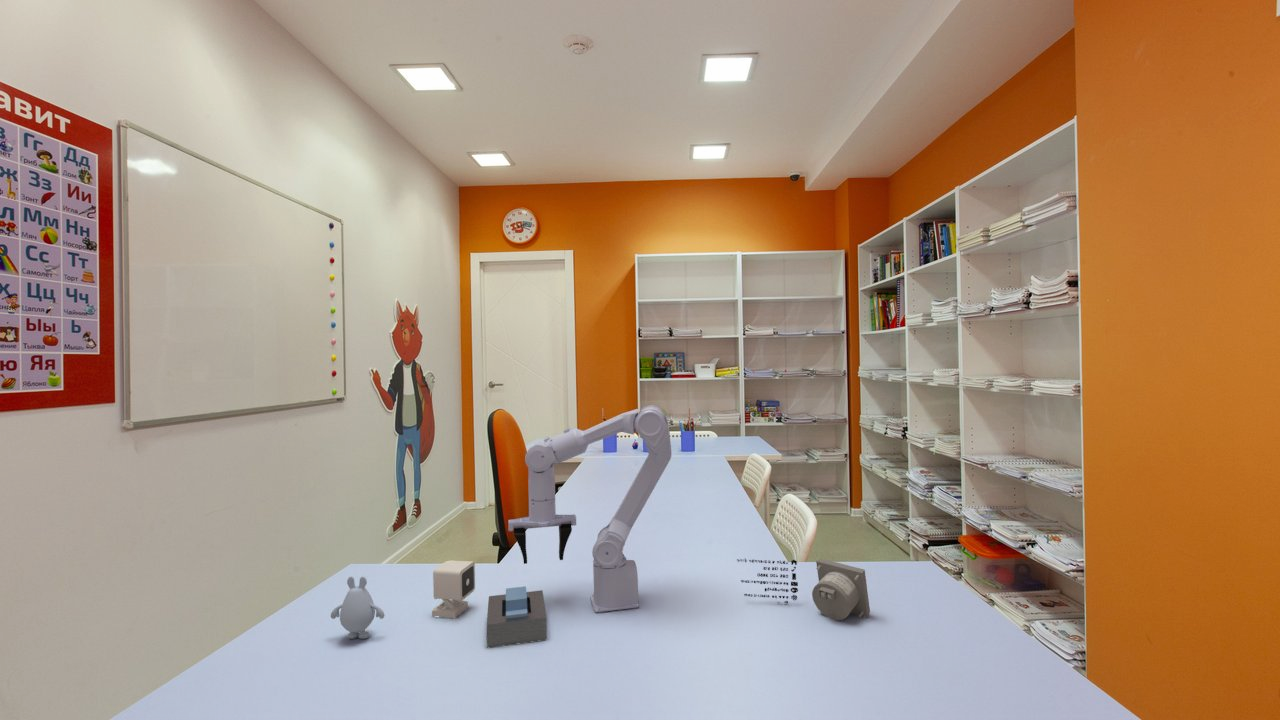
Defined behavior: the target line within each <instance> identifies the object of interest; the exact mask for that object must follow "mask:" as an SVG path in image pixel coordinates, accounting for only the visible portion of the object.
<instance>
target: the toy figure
mask: <svg viewBox="0 0 1280 720" xmlns="http://www.w3.org/2000/svg"><path fill="white" fill-rule="evenodd" d="M367 581H368V580H367V578H366V576H360V578H359V584H358V585H356V583H355V578H354V577H353V576H349V577H348V578H347V580H346V584H347V586H348V587H349V590H348V591H347V593H346V595H345V597H344V599H343V603H342V604H339V605H338V606H336V607H334V608H333V610H332V611H331V613H330V618H331V619H333V620H334V619H336V618H339V621H340V625H341V626H342V627H343V629H345V631H347V632H349V633H348V634H347V638H348V639H349V640H355V639H357V638H358V639H361V640H364V639H368V638H369V637H370V634H371V632H370V631H366V629H367V628H368V627H369V626H370V625H371V624H372V622H373V620H374V618H375V617H376V618H379V619H380V620H383V619H384V618H385V617H386V616H385V612H384V611H383V609H382V608H381V607H380V606H378V605H376V604H375V603H374V600H373V598H372V596H371V594H370V592H369V590H368V589H367V588H366V585H367V583H368V582H367Z"/></svg>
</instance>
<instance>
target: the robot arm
mask: <svg viewBox="0 0 1280 720" xmlns="http://www.w3.org/2000/svg"><path fill="white" fill-rule="evenodd" d="M636 432H637V434H638V435H639V437H641V439H642V440H643V441H644V445H645V447H646V450H647V453H648V454H647V457H646V459H645V460H644V461H643V463H642V466H641V467H640V469H639V471H638V473H637V474H636V476H635V478H634V480H633V481H632V484H631V485H630V487H629V488H628V490H627V493H626V494H625V496H624V498H623V499H622V501H621V503H620V505H619V506H618V509H617V510H616V512H615V514H614V515H613V516H612V518H611V520H610V522H608V524H607V525H606V526H605V527H603V528H602V529H600V531H599V532H598V534H597V538H596V541H595V543H594V545H593V547H592V551H591V552H592V558H593V560H592V563H593V564H592V565H593V566H592V567H593V569H592V570H593V572H592V573H593V594H591V595H590V596H589V599H590V602H591V604H592V607H593V610H594V613H603V612H604V613H605V612H611V611H619V610H627V609H636V608H639V607H640V604H639V577H638V568H637V564H636V561H635V560H634V559H627V557H626V556H625V554H624V553H623V551H624V547H625V545H626V541H627V539H628V537H629V535H630V532H631V531H632V529H633V527H634V525H635V523H636V521H637V519H638V517H639V516H640V514H641V513H642V510H643V508H644V507H645V505H646V504H647V501H648V500H649V498H650V496H651V494H652V493H653V491H654V489H655V487H657V484H658V482H659V480H660V479H661V477H662V475H663V473H664V472H665V470H666V468H667V466H668V465H669V463H670V461H671V459H672V445H671V435H670V423H669V421H668V419H667V417H666V415H665V412H664V411H663V410H662V409H661V408H660V407H658V406H657V405H652V404H650V405H646V406H643V407H642V408H641V409H640V408H635V409H633V410H630V411H626V412H623V413H620V414H618V415H615V416H613V417H611V418H610V419H607V420H605V421H602V422H601V423H598V424H596V425H594V426H591V427H589V428H587V429H585V430H581V429H579V428H576V427H574V428H572V429H571V427H567V428H565V429H564V430H563V432H562V433H560V434H558V435H555V436H553V437H551V438H550V437H549V436H548V437H545V438H544V439H543V441H540V442H537V443H535V444H534V445H533V446H531V447H530V448H528V450H527V452H526V453H525V456H524V457H525V458H524V463H525V465H526V467H527V468H528V478H527V480H528V484H527V485H528V516H525V517H520V518H519V517H518V518H515V519H508V532H513V536H514V538H515V541H516V542H517V544H518V547H519V549H520V553H521V554H522V560H523V564H526V565H527V564H528V553H527V533H526V531H527V530H528V529H529V530H530V529H538V528H539V529H540V528H551V527H558V535H559V537H558V539H559V540H558V541H559V543H558V544H559V545H558V558H559V561H563V560H564V554H565V550H566V546H567V543H568V541H569V538H570V536H571V533H572V531H573V526H577V516H576V514H574V513H573V514H556V478H555V464H561V463H563V462H565V461H568V460H571V459H573V458H575V457H577V456H580V455H582V454H584V453H586V451H587V449H588V446H589V445H590V444H592V443H593V444H594V443H595V442H599V441H601V440H604V439H607V438H609V437H612V436H614V435H618V434H620V433H625V434H629V435H635V433H636Z"/></svg>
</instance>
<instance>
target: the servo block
mask: <svg viewBox="0 0 1280 720" xmlns="http://www.w3.org/2000/svg"><path fill="white" fill-rule="evenodd" d="M526 592H527V586H517V587H508V588H505V594H506V619H509V618H517V617H526V616H528V614H527V593H526Z"/></svg>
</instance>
